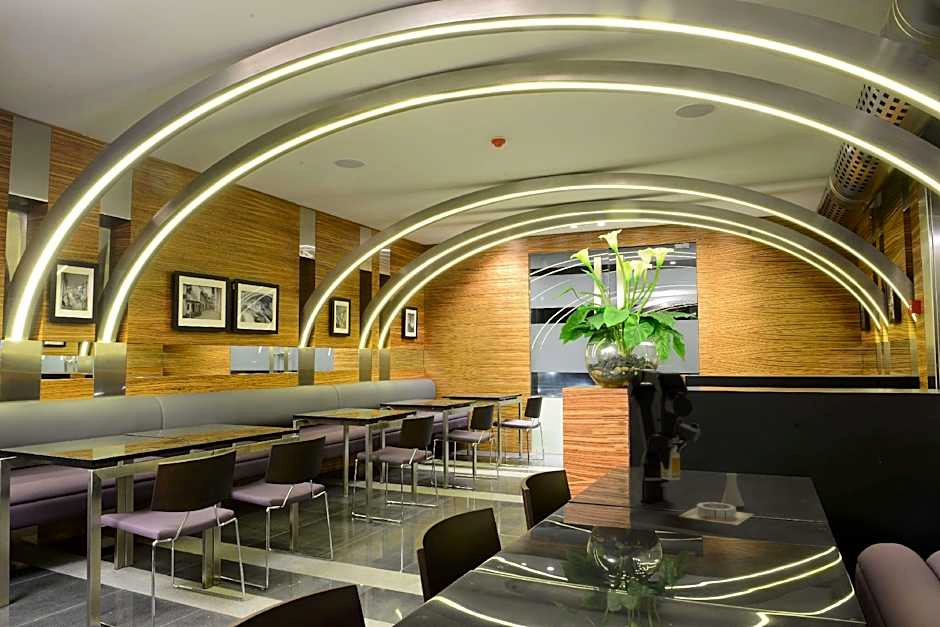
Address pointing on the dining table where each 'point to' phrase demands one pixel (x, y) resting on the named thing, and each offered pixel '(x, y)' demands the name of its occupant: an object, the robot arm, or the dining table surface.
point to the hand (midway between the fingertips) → (670, 468)
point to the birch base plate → (737, 520)
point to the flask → (732, 492)
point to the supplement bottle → (672, 467)
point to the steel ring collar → (716, 510)
